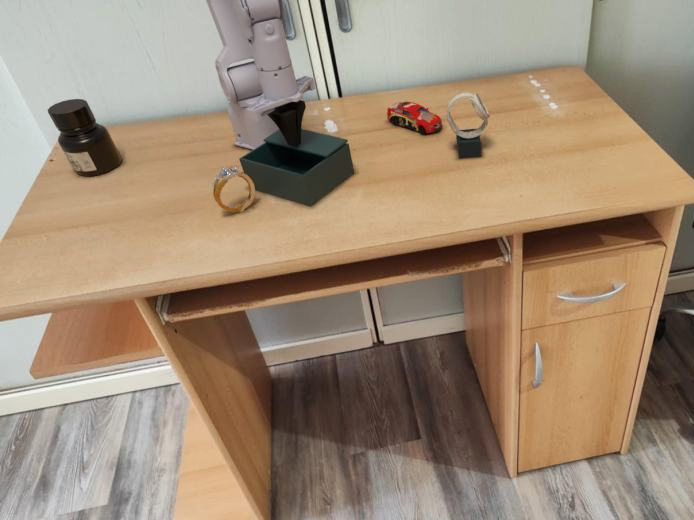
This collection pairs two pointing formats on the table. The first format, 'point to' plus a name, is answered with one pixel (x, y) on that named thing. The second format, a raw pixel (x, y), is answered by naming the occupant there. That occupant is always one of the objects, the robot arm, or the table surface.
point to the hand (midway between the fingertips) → (294, 144)
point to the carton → (296, 172)
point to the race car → (414, 117)
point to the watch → (469, 137)
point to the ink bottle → (84, 138)
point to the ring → (226, 175)
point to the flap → (310, 142)
